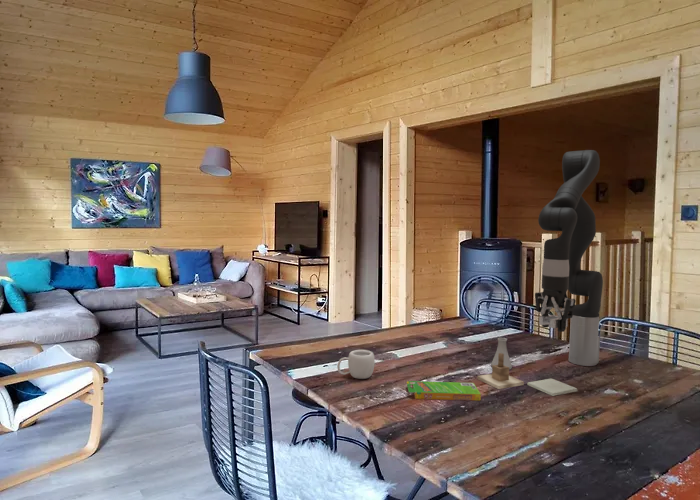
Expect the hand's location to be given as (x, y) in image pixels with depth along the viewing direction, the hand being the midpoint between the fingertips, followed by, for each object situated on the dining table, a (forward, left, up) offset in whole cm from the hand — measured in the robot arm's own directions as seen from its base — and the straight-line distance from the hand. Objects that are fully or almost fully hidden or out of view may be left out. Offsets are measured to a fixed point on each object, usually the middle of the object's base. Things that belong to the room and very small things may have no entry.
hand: (553, 328), depth 154 cm
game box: (+34, -9, -19) cm, 40 cm away
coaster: (0, +1, -18) cm, 18 cm away
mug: (+51, -32, -18) cm, 63 cm away
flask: (0, -22, -18) cm, 29 cm away
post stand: (+11, -10, -18) cm, 23 cm away
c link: (0, 0, +1) cm, 1 cm away
